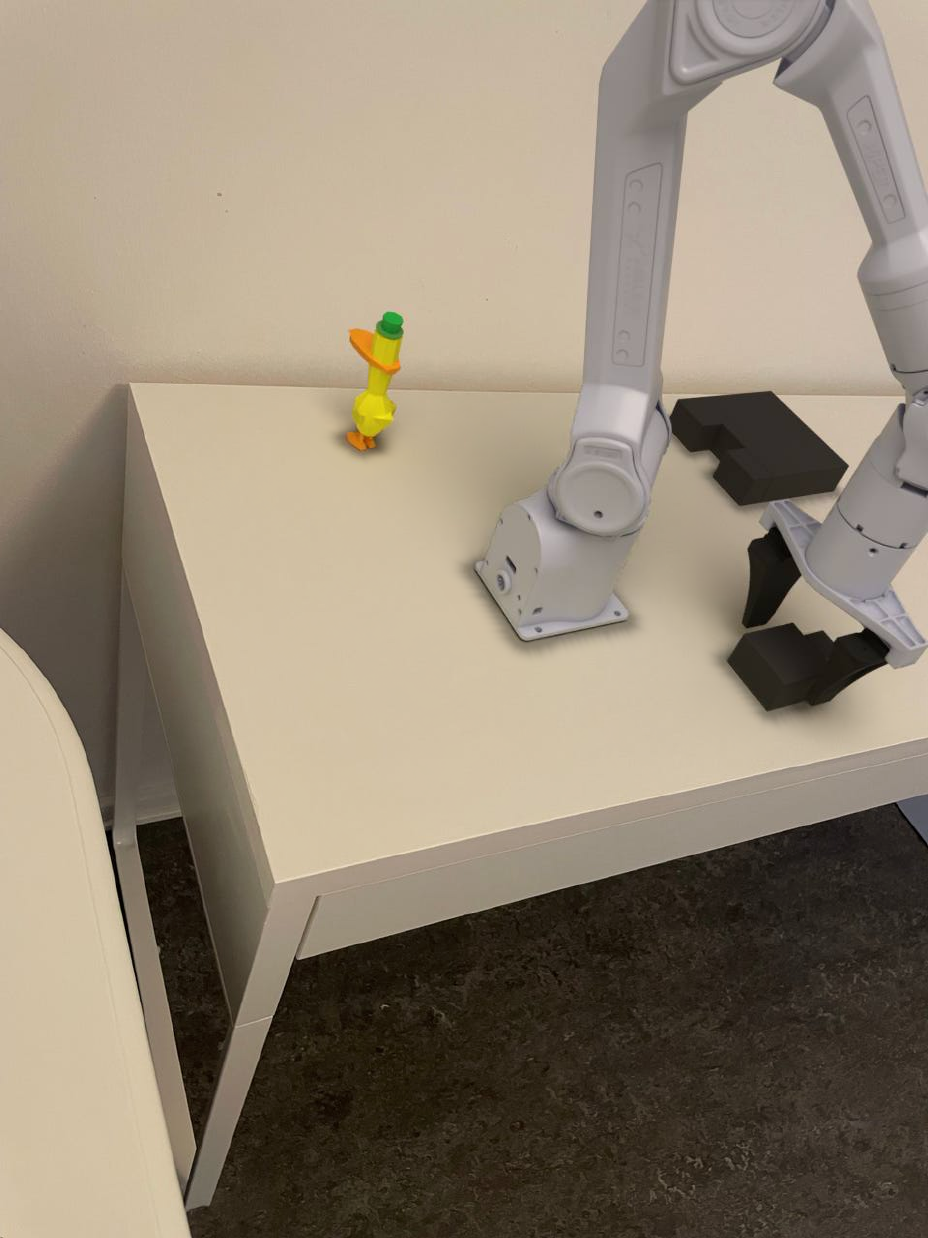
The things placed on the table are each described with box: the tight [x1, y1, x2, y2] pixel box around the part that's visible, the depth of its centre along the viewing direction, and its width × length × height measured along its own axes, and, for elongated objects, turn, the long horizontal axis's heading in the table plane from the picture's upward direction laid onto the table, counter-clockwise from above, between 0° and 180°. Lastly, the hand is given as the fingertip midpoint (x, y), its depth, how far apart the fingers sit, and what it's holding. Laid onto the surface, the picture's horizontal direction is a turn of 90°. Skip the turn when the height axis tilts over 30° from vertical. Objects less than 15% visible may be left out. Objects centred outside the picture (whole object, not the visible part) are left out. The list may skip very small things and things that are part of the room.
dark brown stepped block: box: [726, 622, 834, 712], centre depth 76 cm, size 7×5×3 cm
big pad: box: [669, 390, 850, 506], centre depth 97 cm, size 12×12×3 cm
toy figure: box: [346, 311, 405, 452], centre depth 81 cm, size 7×4×12 cm, turn 40°
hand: (784, 660), depth 75 cm, fingers open, 7 cm apart
